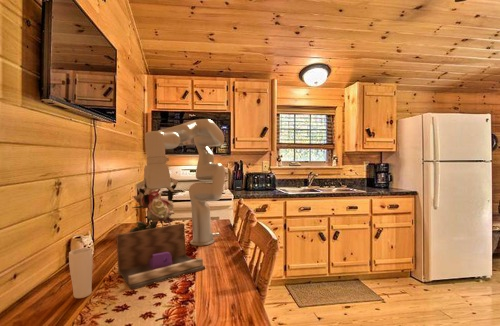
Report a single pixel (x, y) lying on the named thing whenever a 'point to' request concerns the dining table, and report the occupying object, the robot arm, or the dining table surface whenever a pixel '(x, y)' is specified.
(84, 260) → the white cup
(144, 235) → the stand
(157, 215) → the rose bouquet
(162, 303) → the dining table surface
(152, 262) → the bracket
